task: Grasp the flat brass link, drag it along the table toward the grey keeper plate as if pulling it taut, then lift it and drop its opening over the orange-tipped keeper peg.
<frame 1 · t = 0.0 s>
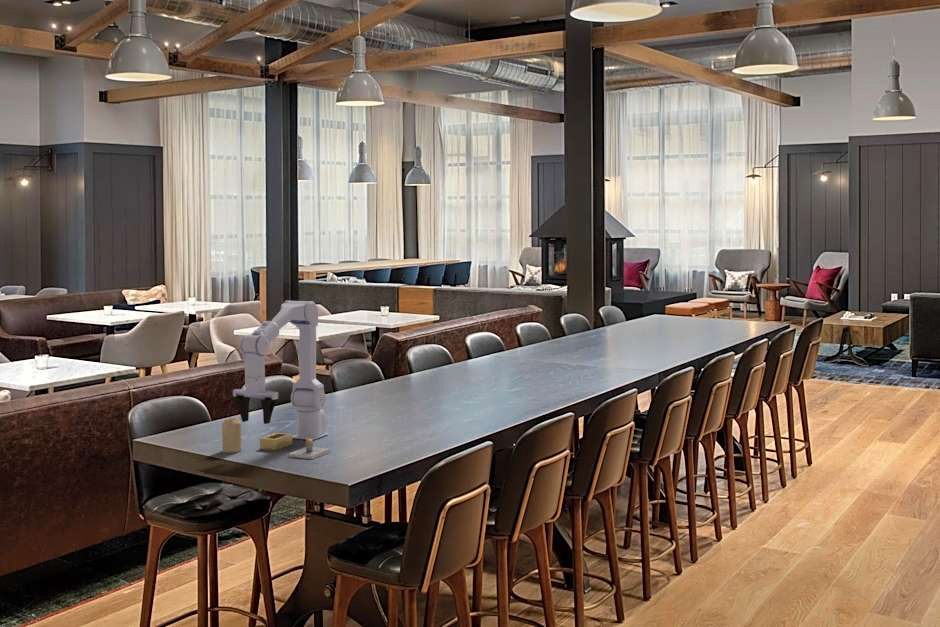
hand: (256, 422, 296), 10 cm above the table, fingers open, 7 cm apart
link: (276, 446, 309), on the table
candle: (232, 451, 304), on the table
tan rectangular block: (272, 441, 316), on the table
keeper: (309, 454, 299), on the table
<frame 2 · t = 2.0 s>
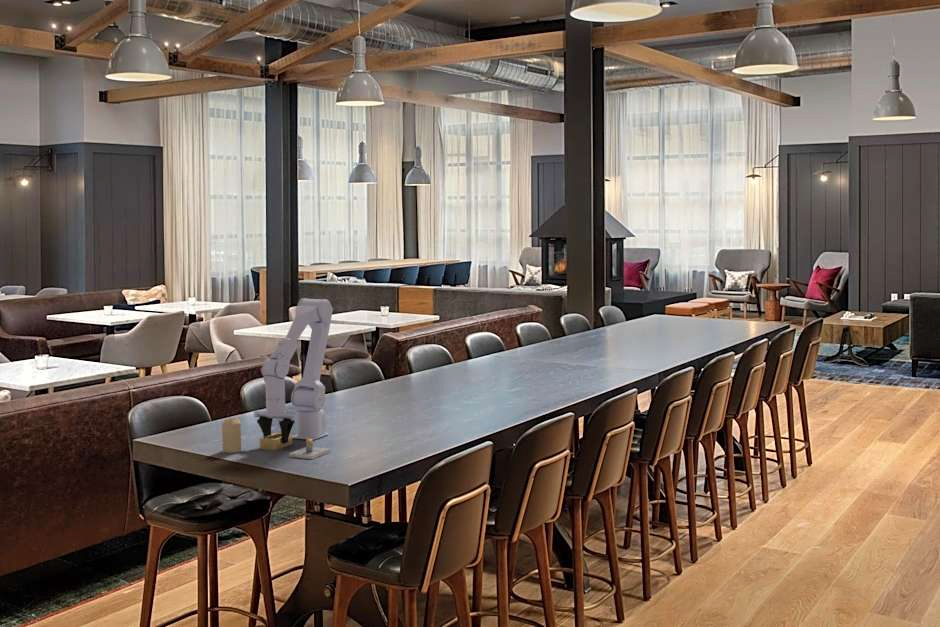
hand: (276, 442, 309), 1 cm above the table, fingers closed on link, 6 cm apart
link: (276, 446, 309), on the table, touching gripper
everything else where it was.
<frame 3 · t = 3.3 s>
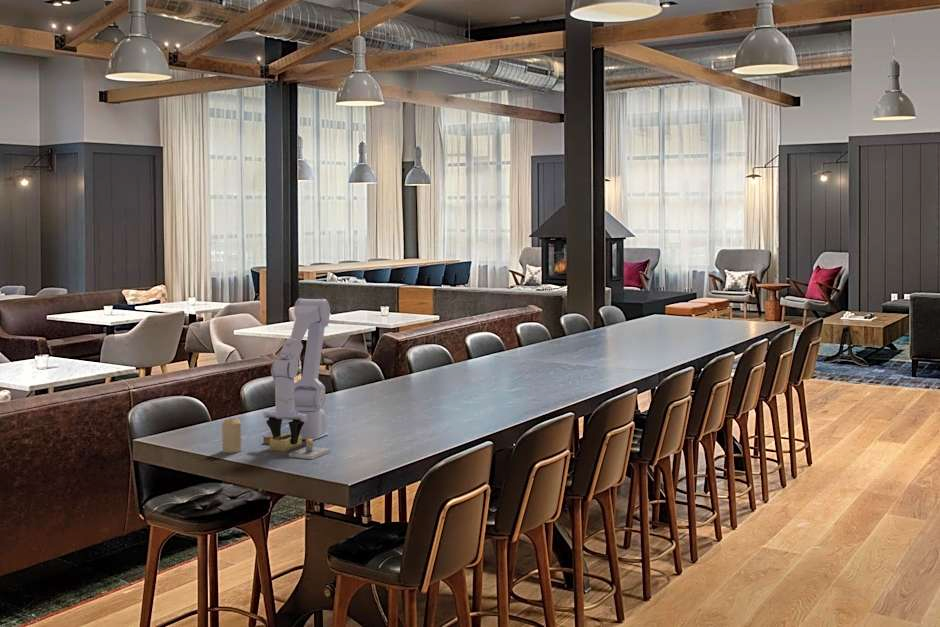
hand: (285, 442, 308), 1 cm above the table, fingers closed on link, 6 cm apart
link: (286, 447, 308), on the table, touching gripper
everything else where it was.
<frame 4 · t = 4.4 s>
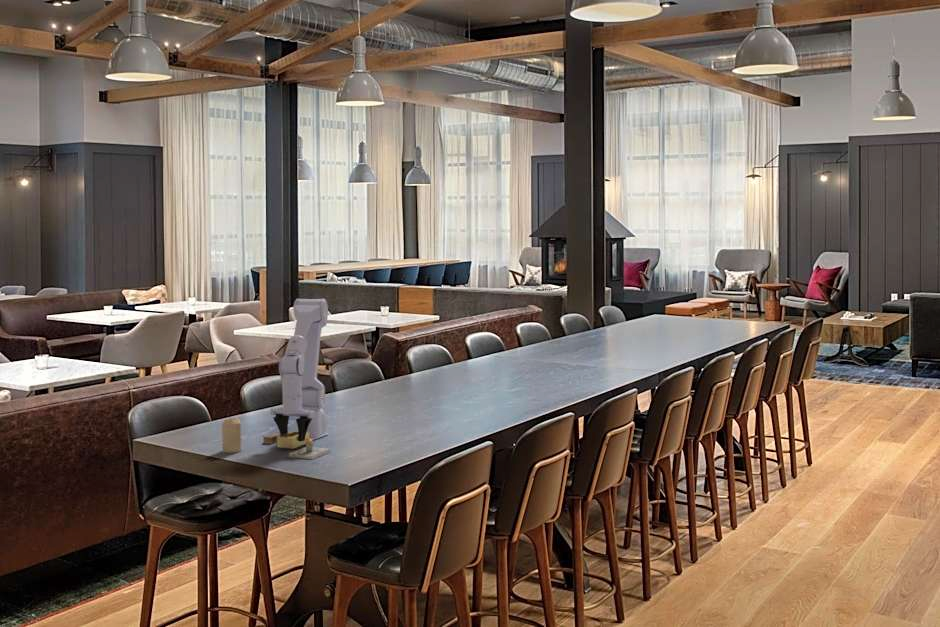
hand: (293, 439, 307), 3 cm above the table, fingers closed on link, 6 cm apart
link: (293, 444, 307), point 1 cm above the table, touching gripper
everything else where it was.
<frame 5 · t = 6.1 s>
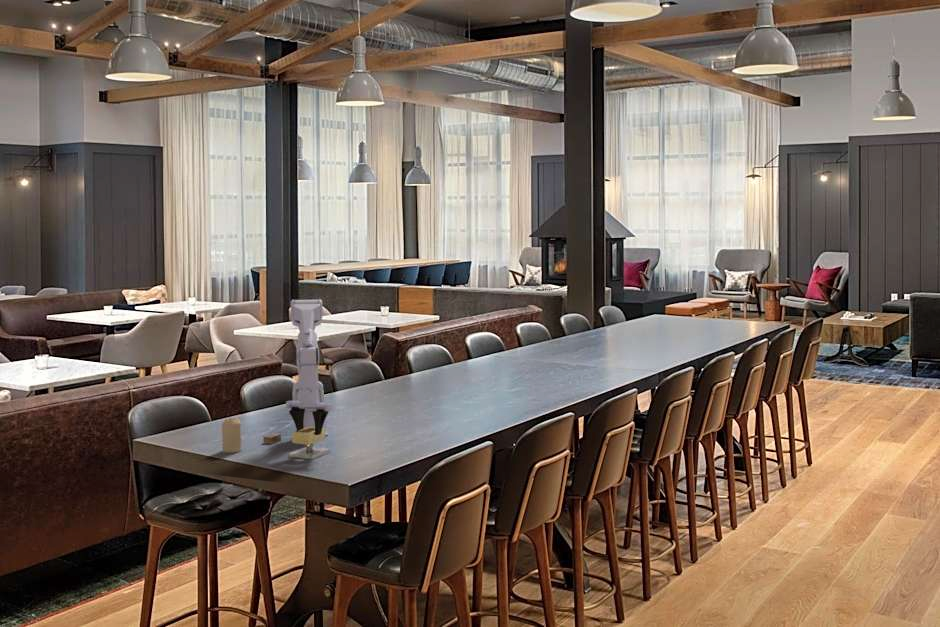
hand: (309, 433, 298), 6 cm above the table, fingers closed on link, 6 cm apart
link: (308, 441, 298), point 4 cm above the table, touching gripper
everything else where it was.
when the fingers open (4 cm above the table, at t = 7.2 s): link stays where it is, resting on keeper.
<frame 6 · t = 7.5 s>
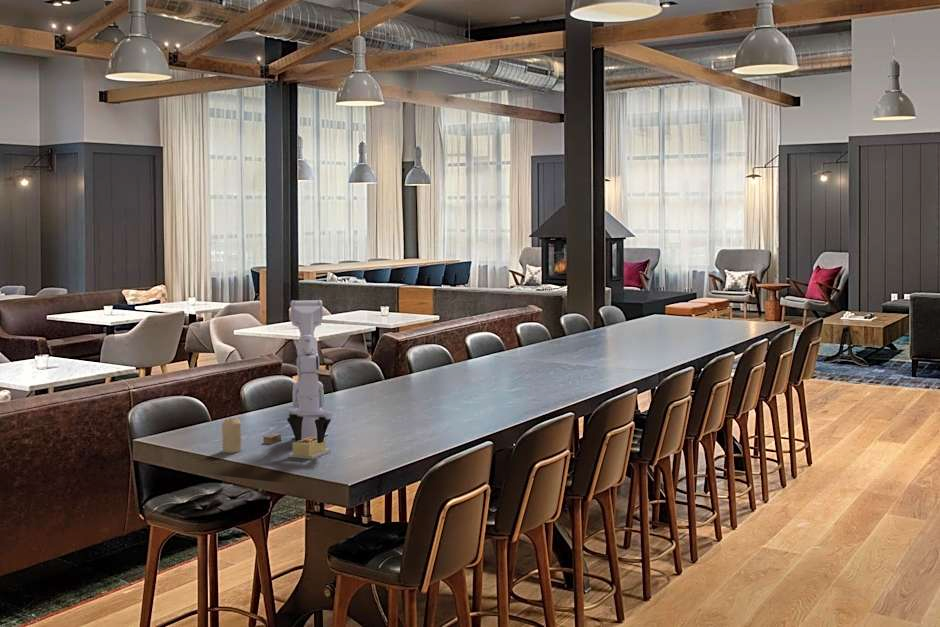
hand: (309, 441, 298), 4 cm above the table, fingers open, 7 cm apart
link: (309, 451, 298), point 1 cm above the table, touching keeper
everything else where it was.
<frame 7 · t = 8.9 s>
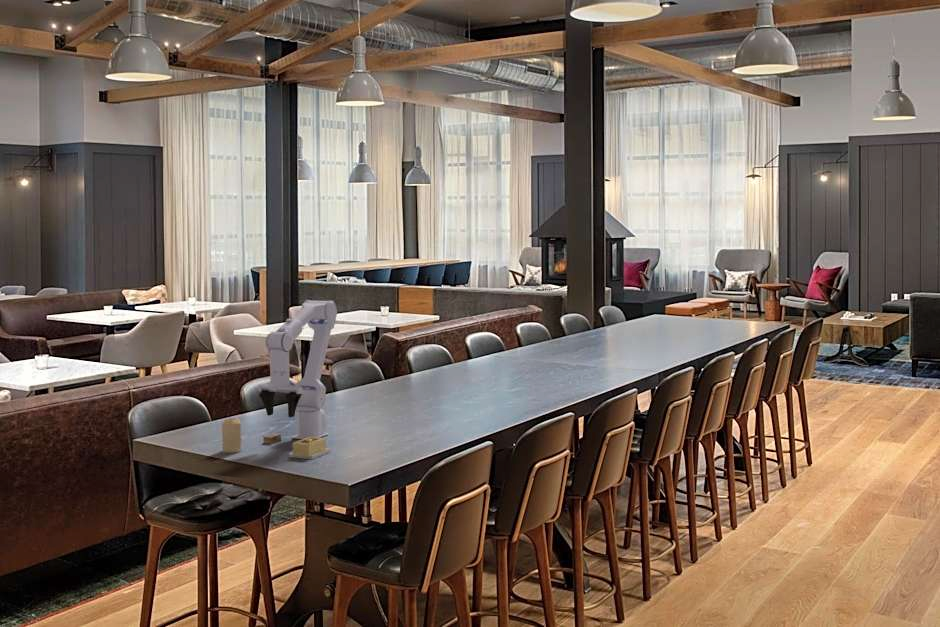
hand: (280, 415, 306), 10 cm above the table, fingers open, 7 cm apart
nothing on the table moved.
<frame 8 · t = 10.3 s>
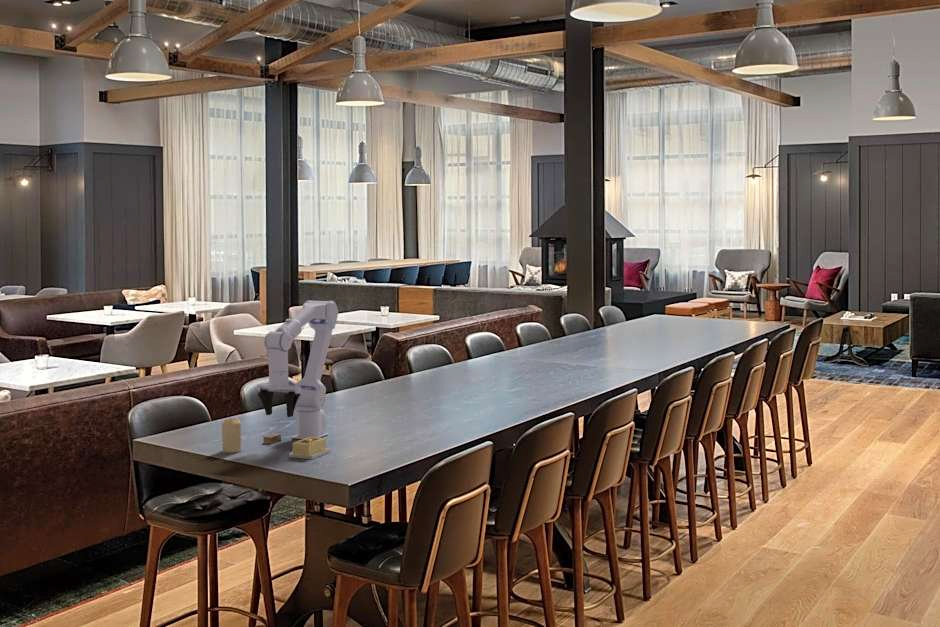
hand: (279, 415, 306), 10 cm above the table, fingers open, 7 cm apart
nothing on the table moved.
at the end: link 0.2 cm off-centre on the keeper, point 1.0 cm above the keeper's base; the gripper is holding nothing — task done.
